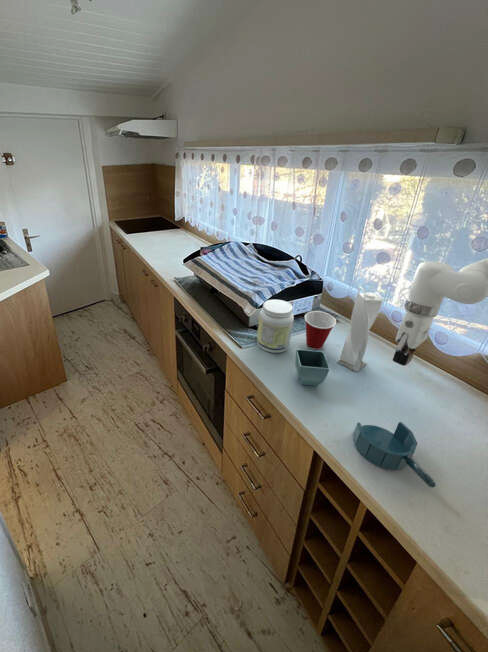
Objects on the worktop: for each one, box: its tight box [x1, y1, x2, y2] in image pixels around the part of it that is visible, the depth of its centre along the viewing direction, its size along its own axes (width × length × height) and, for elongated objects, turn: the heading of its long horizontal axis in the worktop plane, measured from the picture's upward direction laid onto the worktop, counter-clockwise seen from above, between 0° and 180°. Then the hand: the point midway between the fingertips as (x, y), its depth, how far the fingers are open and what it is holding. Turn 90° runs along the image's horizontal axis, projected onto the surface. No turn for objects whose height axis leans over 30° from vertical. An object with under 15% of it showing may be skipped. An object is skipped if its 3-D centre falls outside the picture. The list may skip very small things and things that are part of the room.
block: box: [393, 347, 415, 366], centre depth 91 cm, size 4×4×4 cm
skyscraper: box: [336, 285, 384, 373], centre depth 101 cm, size 8×8×28 cm
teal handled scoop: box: [352, 421, 437, 488], centre depth 73 cm, size 19×12×6 cm, turn 16°
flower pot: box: [294, 348, 331, 387], centre depth 97 cm, size 9×9×9 cm
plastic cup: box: [304, 310, 337, 350], centre depth 113 cm, size 11×11×12 cm
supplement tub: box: [256, 299, 295, 354], centre depth 113 cm, size 12×12×17 cm
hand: (402, 359), depth 92 cm, fingers closed on block, 3 cm apart
